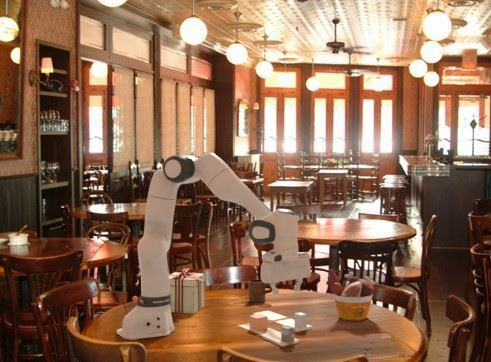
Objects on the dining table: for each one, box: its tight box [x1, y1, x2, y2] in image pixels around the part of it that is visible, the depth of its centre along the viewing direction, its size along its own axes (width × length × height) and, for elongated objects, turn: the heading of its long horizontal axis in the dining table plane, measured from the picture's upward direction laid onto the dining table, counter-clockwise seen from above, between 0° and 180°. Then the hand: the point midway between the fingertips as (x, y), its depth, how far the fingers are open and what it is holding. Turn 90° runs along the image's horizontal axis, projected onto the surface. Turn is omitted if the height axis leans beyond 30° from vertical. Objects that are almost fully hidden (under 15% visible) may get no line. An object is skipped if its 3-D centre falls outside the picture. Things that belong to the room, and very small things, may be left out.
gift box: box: [169, 268, 206, 314], centre depth 297 cm, size 17×18×17 cm
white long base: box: [237, 322, 301, 347], centre depth 253 cm, size 8×30×6 cm, turn 33°
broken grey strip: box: [252, 310, 313, 333], centre depth 271 cm, size 8×30×6 cm, turn 33°
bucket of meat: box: [327, 268, 376, 322], centre depth 277 cm, size 20×16×20 cm
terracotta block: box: [249, 314, 269, 331], centre depth 258 cm, size 5×5×5 cm
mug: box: [248, 278, 273, 304], centre depth 308 cm, size 12×8×9 cm, turn 66°
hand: (286, 292), depth 241 cm, fingers open, 8 cm apart
